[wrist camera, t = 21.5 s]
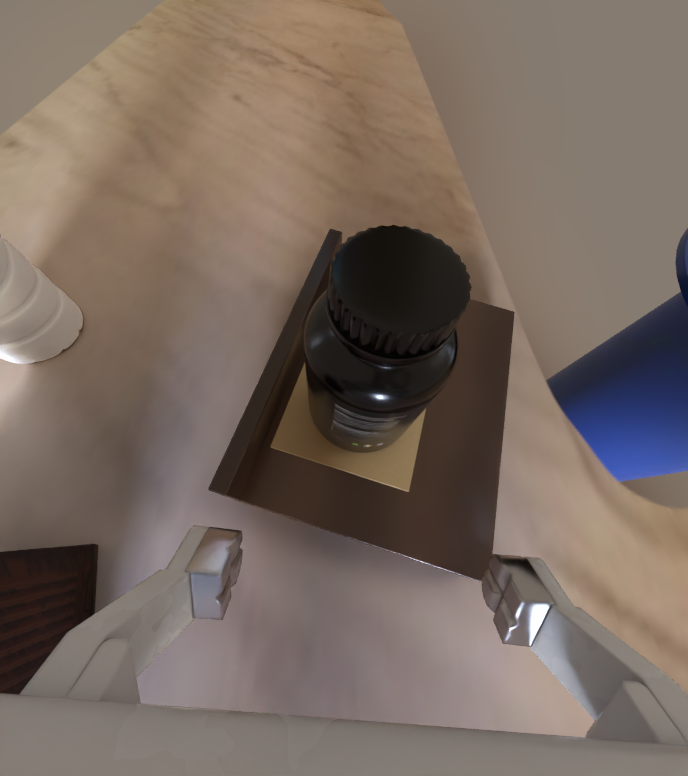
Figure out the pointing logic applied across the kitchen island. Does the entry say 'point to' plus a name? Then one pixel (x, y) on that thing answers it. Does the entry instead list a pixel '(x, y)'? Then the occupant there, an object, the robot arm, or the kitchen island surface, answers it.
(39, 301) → the water bottle
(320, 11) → the kitchen island surface
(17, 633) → the coffee grinder
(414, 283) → the supplement bottle
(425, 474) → the shelf
